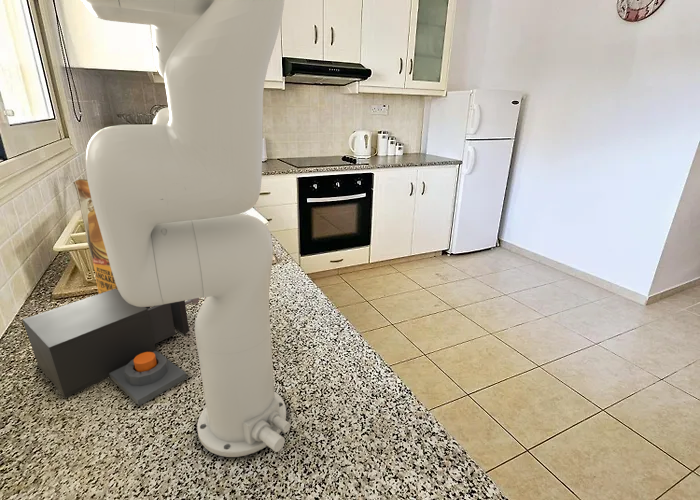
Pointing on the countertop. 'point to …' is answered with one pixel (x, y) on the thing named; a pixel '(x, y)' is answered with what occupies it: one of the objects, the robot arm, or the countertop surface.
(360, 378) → the countertop surface
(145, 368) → the button
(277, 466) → the countertop surface
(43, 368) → the matte grey oblong box
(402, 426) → the countertop surface
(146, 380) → the control pad
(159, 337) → the drawer
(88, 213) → the pancake mix bag
